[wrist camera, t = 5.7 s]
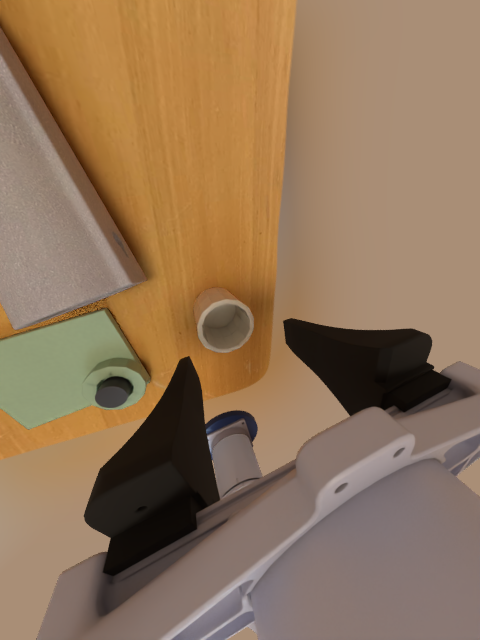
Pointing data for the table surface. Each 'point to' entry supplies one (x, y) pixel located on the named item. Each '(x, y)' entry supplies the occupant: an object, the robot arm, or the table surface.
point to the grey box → (49, 213)
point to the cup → (222, 320)
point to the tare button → (113, 392)
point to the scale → (65, 368)
